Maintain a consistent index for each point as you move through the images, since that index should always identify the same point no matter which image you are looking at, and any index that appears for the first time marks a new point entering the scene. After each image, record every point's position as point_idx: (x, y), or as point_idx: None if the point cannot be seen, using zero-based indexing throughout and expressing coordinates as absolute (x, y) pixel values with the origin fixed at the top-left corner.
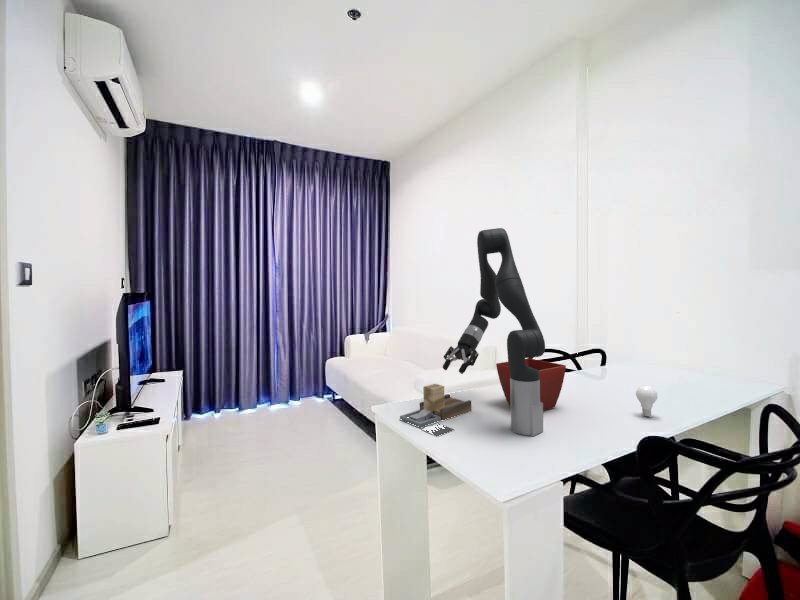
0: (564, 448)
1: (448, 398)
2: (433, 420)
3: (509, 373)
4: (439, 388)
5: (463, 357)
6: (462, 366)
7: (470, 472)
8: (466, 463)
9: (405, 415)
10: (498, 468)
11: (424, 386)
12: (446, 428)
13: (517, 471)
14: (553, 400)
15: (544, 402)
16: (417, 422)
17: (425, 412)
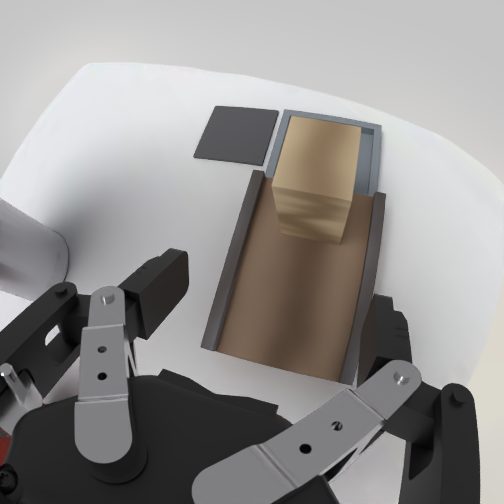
0: None
1: (335, 358)
2: (272, 154)
3: (6, 449)
4: (280, 156)
5: (111, 323)
6: (145, 271)
7: (120, 68)
8: (129, 78)
9: (373, 137)
10: (86, 98)
11: (358, 131)
12: (215, 148)
13: (65, 110)
14: None
15: None
16: (298, 112)
17: None
